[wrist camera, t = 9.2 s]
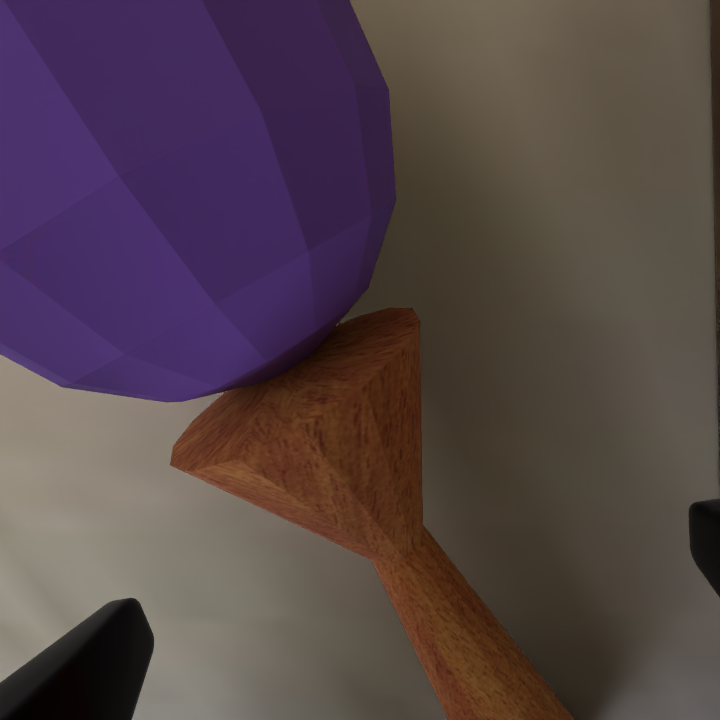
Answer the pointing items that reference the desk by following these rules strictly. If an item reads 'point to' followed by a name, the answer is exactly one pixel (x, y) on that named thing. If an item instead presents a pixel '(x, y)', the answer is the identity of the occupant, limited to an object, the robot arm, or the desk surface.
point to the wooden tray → (716, 154)
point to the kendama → (238, 277)
